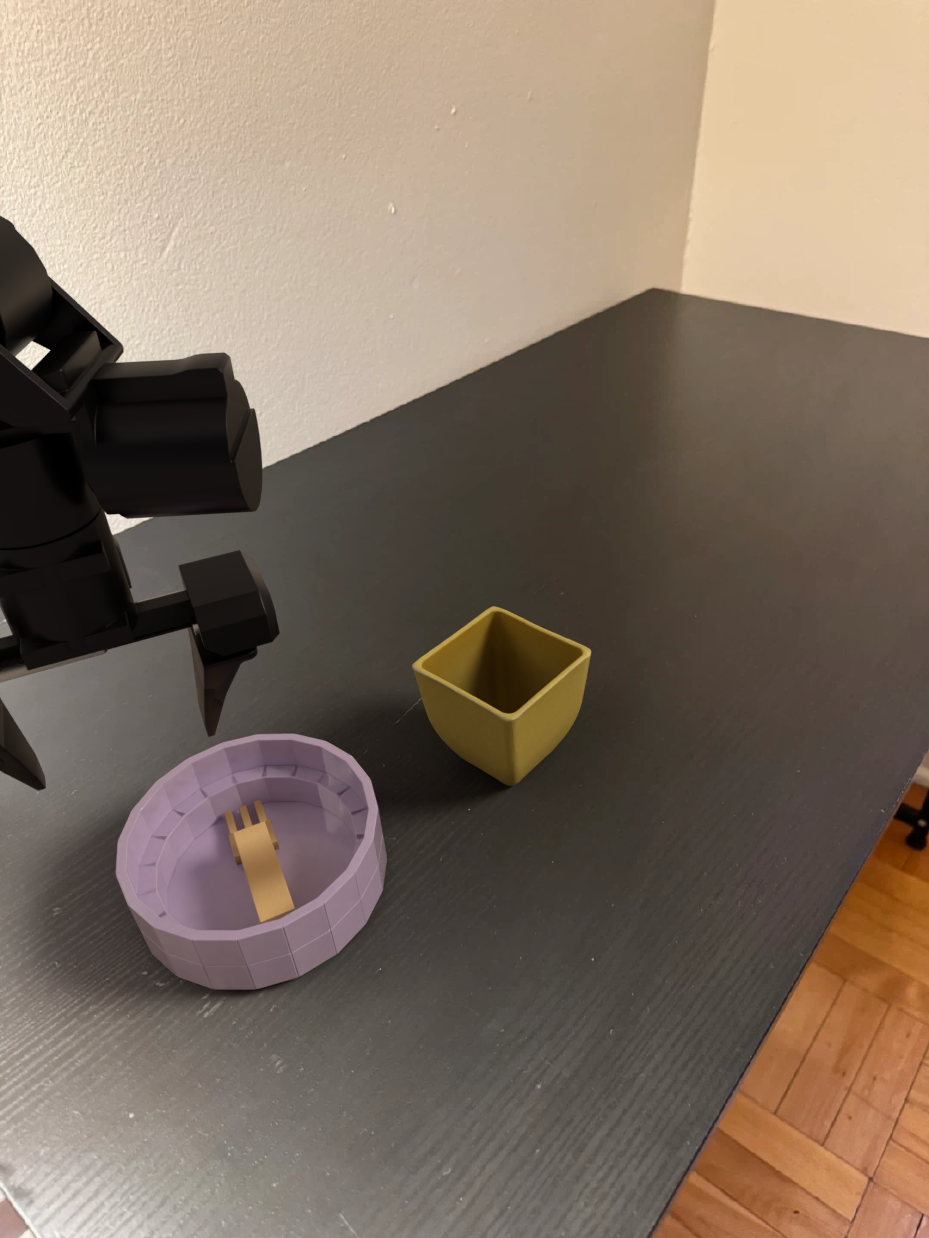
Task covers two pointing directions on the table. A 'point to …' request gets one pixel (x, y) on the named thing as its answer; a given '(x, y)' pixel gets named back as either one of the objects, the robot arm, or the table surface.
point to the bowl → (218, 888)
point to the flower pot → (503, 692)
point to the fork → (260, 864)
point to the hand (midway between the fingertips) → (128, 757)
